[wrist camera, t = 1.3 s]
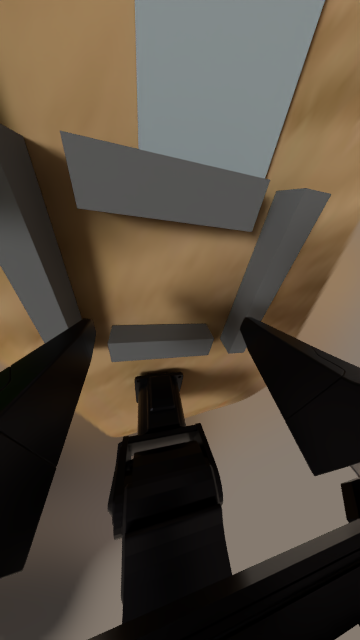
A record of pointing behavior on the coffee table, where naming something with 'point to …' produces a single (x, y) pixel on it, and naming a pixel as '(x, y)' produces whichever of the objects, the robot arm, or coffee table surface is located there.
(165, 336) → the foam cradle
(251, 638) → the robot arm
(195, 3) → the felt pad
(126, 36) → the coffee table surface
